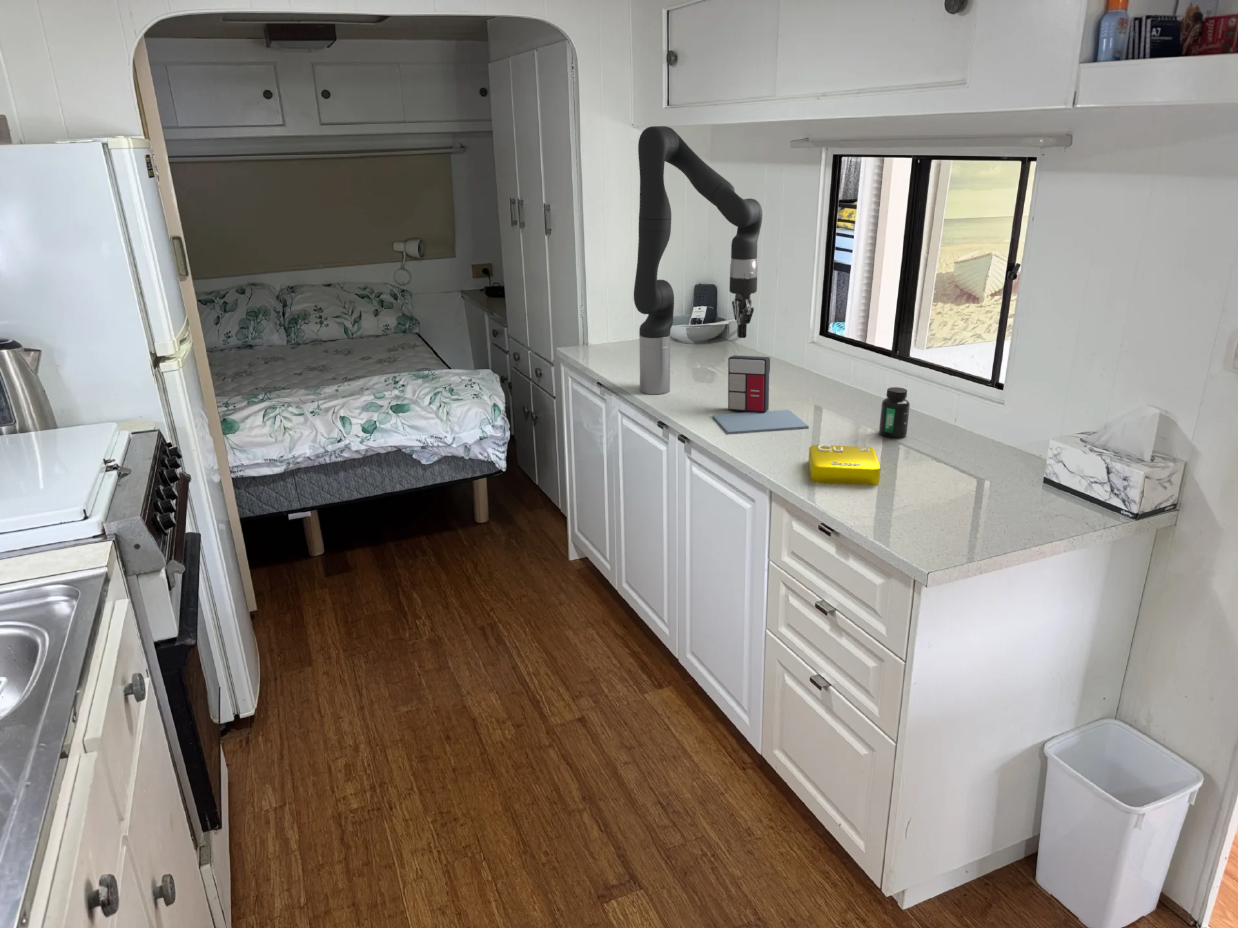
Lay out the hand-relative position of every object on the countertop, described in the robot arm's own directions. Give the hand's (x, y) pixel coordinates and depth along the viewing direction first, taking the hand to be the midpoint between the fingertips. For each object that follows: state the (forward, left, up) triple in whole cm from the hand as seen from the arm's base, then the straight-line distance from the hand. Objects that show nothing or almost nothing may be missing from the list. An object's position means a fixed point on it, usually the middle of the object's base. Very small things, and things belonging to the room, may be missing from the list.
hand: (741, 337), depth 241 cm
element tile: (+57, +7, -20) cm, 61 cm away
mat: (+18, 0, -19) cm, 26 cm away
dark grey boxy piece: (+8, 0, -19) cm, 21 cm away
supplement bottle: (+35, +30, -20) cm, 50 cm away
